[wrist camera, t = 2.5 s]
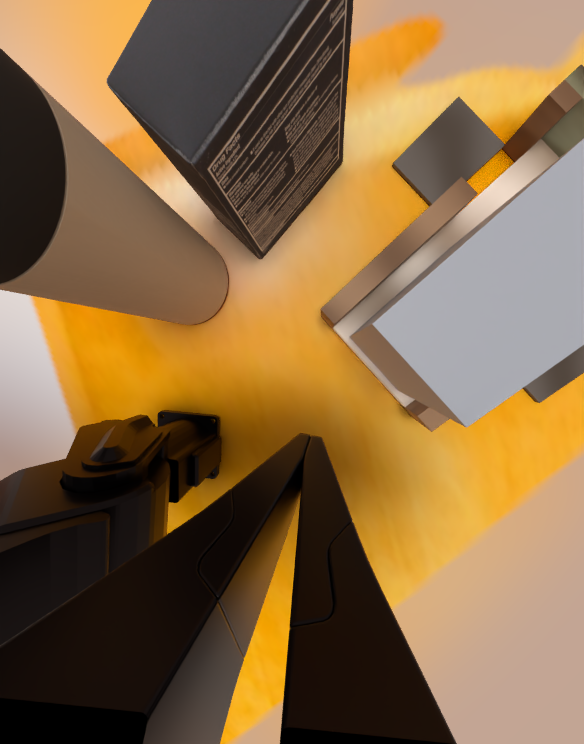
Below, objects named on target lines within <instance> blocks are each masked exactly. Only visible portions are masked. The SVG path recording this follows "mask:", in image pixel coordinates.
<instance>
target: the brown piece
mask: <svg viewBox="0 0 584 744" xmlns="http://www.w3.org/2000/svg"><path fill="white" fill-rule="evenodd" d="M583 138H584V67H583V66H582V65H580V66H579V67H578V68H577V69H576V70H575V71H573V72H572V73H571V74H570V75H569V76H568V77H567V78H566V79H565V80H564V81H563V82H562V83H561V84H560V85H559V86H558V87H556V88H555V89H554V90H553V91H552V92H551V93H550V94H549V95H548V96H547V97H546V98H545V100H544V101H543V102H542V103H541V104H540V105H539V106H538V108H537V109H536V110H535V111H534V112H533V113H532V114H531V116H530V117H529V118H528V119H527V120H526V121H525V122H524V124H523V125H522V126H521V127H520V128H519V129H518V130H517V132H516V133H515V134H514V135H513V136H512V137H511V138H510V140H509V141H508V142H507V143H506V144H504V143H503V142H502V141H501V140H500V139H499V138H498V137H497V136H496V135H495V134H494V133H493V132H492V131H491V130H490V129H489V128H488V126H487V125H486V124H485V123H484V122H483V121H482V120H481V119H480V118H479V117H478V116H477V115H476V114H475V113H474V112H473V111H472V110H471V109H470V108H469V107H468V106H467V105H466V104H465V103H464V102H463V101H462V99H461V98H460V97H458V98H457V99H456V100H455V101H454V102H453V103H452V104H451V105H450V106H449V107H448V108H447V109H446V110H445V111H444V112H443V113H442V114H441V115H440V116H439V117H438V118H437V119H436V120H435V121H434V122H433V123H432V124H431V125H430V126H429V127H428V128H427V129H426V130H425V131H424V132H423V133H422V134H421V135H420V136H419V137H418V138H417V139H416V140H415V141H414V142H413V143H412V144H411V145H410V146H409V147H408V148H407V149H406V150H405V152H404V153H403V154H402V155H401V156H400V157H399V158H398V159H397V160H396V161H395V162H394V163H393V165H392V166H393V168H394V169H395V170H396V171H397V172H398V173H399V174H400V175H401V176H402V177H403V178H404V179H405V180H406V181H407V182H408V183H409V185H410V186H411V187H412V188H413V189H414V190H415V191H416V192H417V193H418V194H419V195H420V196H421V197H422V198H423V199H424V200H425V202H426V203H427V204H428V205H429V206H430V207H429V208H428V209H427V210H426V211H424V212H423V213H422V214H421V215H420V216H419V217H418V218H417V219H416V220H415V221H414V222H413V223H412V224H411V225H410V226H409V227H407V228H406V229H405V230H404V231H403V232H402V233H401V234H400V235H399V236H398V237H397V238H396V239H395V240H394V241H393V242H391V243H390V244H389V245H388V246H387V247H386V248H385V249H384V250H383V251H382V252H381V253H380V254H379V255H378V256H377V257H376V258H374V259H373V260H372V261H371V262H370V263H369V264H368V265H367V266H366V267H365V268H364V269H363V270H362V271H361V272H360V273H359V274H357V275H356V276H355V277H354V278H353V279H352V280H351V281H350V282H349V283H348V284H347V285H346V286H345V287H344V288H343V289H341V290H340V291H339V292H338V293H337V294H336V295H335V296H334V297H333V298H332V299H331V300H330V301H329V302H328V303H327V304H326V305H324V306H323V307H322V308H321V317H322V318H323V319H324V320H325V321H326V322H327V323H328V324H329V326H330V327H331V328H332V329H333V330H334V331H335V332H336V333H337V334H338V336H339V337H340V338H341V339H342V340H343V341H344V342H345V343H346V344H347V345H348V347H349V348H350V349H351V350H352V351H353V352H354V353H355V354H356V355H357V357H358V358H359V359H360V360H361V361H362V362H363V363H364V364H365V365H366V366H367V368H368V369H369V370H370V371H371V372H372V373H373V374H374V375H375V376H376V378H377V379H378V380H379V381H380V382H381V383H382V384H383V385H384V386H385V387H386V389H387V390H388V391H389V392H390V393H391V394H392V395H393V396H394V397H395V398H396V400H397V401H398V402H399V403H400V404H401V405H402V406H403V407H404V408H405V410H406V411H407V412H408V413H409V414H410V415H411V416H412V417H413V418H414V419H415V420H417V421H418V422H419V423H421V424H422V425H423V426H425V427H426V428H427V429H429V430H430V431H431V432H432V431H433V430H435V429H436V428H438V427H439V426H440V425H442V424H443V423H444V422H446V421H447V420H449V419H450V418H448V417H446V416H444V415H442V414H441V413H439V412H437V411H435V410H433V409H431V408H429V407H428V406H426V405H424V404H422V403H420V402H418V401H416V400H415V399H413V398H411V397H409V396H407V395H405V394H403V393H402V392H400V391H398V390H397V389H396V388H395V387H394V386H393V385H392V384H391V383H390V381H389V380H388V379H387V378H386V377H385V376H384V375H383V374H382V373H381V372H380V370H379V369H378V368H377V367H376V366H375V365H374V364H373V363H372V362H371V361H370V359H369V358H368V357H367V356H366V355H365V354H364V353H363V352H362V351H361V349H360V348H359V347H358V346H357V345H356V344H355V343H354V342H353V341H352V340H351V338H350V336H351V335H352V334H353V333H354V332H355V331H357V330H358V329H359V328H360V327H361V326H362V325H363V324H364V323H366V322H367V321H368V320H369V319H370V318H371V317H372V316H374V315H375V314H376V313H377V312H378V311H379V310H380V309H381V308H383V307H384V306H385V305H386V304H387V303H388V302H389V301H390V300H392V299H393V298H394V297H395V296H396V295H397V294H398V293H400V292H401V291H402V290H403V289H404V288H405V287H406V286H407V285H409V284H410V283H411V282H412V281H413V280H414V279H415V278H416V277H418V276H419V275H420V274H421V273H422V272H423V271H424V270H426V269H427V268H428V267H429V266H430V265H431V264H432V263H433V262H435V261H436V260H437V259H438V258H439V257H440V256H441V255H443V254H444V253H445V252H446V251H447V250H448V249H449V248H450V247H452V246H453V245H454V244H455V243H456V242H458V241H459V240H460V239H461V238H463V237H464V236H465V235H466V234H467V233H469V232H470V231H471V230H472V229H474V228H475V227H476V226H477V225H478V224H480V223H481V222H482V221H483V220H485V219H486V218H487V217H488V216H489V215H491V214H492V213H493V212H494V211H495V210H497V209H498V208H499V207H500V206H502V205H503V204H504V203H505V202H506V201H508V200H509V199H510V198H511V197H513V196H514V195H515V194H516V193H517V192H519V191H520V190H521V189H522V188H523V187H525V186H526V185H527V184H528V183H530V182H531V181H532V180H533V179H534V178H536V177H537V176H538V175H539V174H541V173H542V172H543V171H544V170H545V169H547V168H548V167H549V166H550V165H552V164H553V163H554V162H555V161H556V160H558V159H559V158H560V157H561V156H562V155H564V154H565V153H566V152H567V151H569V150H570V149H571V148H572V147H573V146H575V145H576V144H577V143H578V142H580V141H581V140H582V139H583ZM501 149H503V150H504V151H505V152H506V153H507V154H508V155H509V156H510V157H511V158H512V160H513V161H514V162H515V163H514V164H513V165H512V166H510V167H509V168H508V169H507V170H506V171H505V172H504V173H503V174H502V175H501V176H499V177H498V178H497V179H496V180H495V181H494V182H493V183H492V184H491V185H490V186H488V187H487V188H486V189H485V190H484V191H483V192H482V193H481V194H480V195H479V196H477V197H476V198H475V199H474V200H473V201H472V202H471V203H470V204H469V205H468V206H466V205H467V204H468V203H469V202H470V201H471V200H472V199H473V198H474V197H475V196H476V195H477V194H478V193H477V192H476V191H475V190H474V189H473V188H472V187H471V186H470V185H469V184H468V183H467V182H466V181H467V180H468V179H469V178H471V177H472V176H473V175H474V174H475V173H476V172H477V171H478V170H479V169H480V168H481V167H482V166H483V165H484V164H486V163H487V162H488V161H489V160H490V159H491V158H492V157H493V156H494V155H495V154H496V153H497V152H498V151H500V150H501ZM465 206H466V207H465ZM464 207H465V208H464ZM463 208H464V209H463ZM462 209H463V210H462ZM461 210H462V211H461ZM460 211H461V212H460ZM459 212H460V213H459ZM458 213H459V214H458ZM457 214H458V215H457ZM583 373H584V345H583V346H581V347H580V348H579V349H577V350H576V351H574V352H573V353H571V354H570V355H569V356H567V357H566V358H564V359H563V360H562V361H560V362H559V363H557V364H556V365H554V366H553V367H552V368H550V369H549V370H547V371H546V372H545V373H543V374H542V375H540V376H539V377H538V378H536V379H535V380H533V381H532V382H530V383H529V384H528V385H526V386H525V387H523V389H524V390H525V391H526V392H527V393H528V394H529V395H530V396H531V397H532V398H533V399H534V400H535V402H538V403H540V402H542V401H543V400H545V399H546V398H547V397H549V396H550V395H552V394H553V393H555V392H556V391H558V390H559V389H561V388H562V387H564V386H565V385H566V384H568V383H569V382H571V381H572V380H574V379H575V378H577V377H578V376H580V375H581V374H583Z"/></svg>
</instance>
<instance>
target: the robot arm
mask: <svg viewBox="0 0 584 744" xmlns="http://www.w3.org/2000/svg"><path fill="white" fill-rule="evenodd" d="M163 414H164V417H163ZM212 419H214V420H215V422H213V420H212ZM219 423H220V420H219V417H218V416H216V415H209V414H198V413H188V412H177V411H166V410H164V411H161V412H159V413H158V427H155V424H153V423H152V421H151V420H150V419H149V417H148V416H146V415H137V416H134V417H131V418H129V419H126V420H105V421H102V422H101V423H96V424H91V425H86V426H82V427H80V428H79V430H78V433H77V435H76V437H75V439H74V442H73V444H72V446H71V449H70V451H69V453H68V455H67V458H66V459H63V460H59V461H54V462H50V463H46V464H42V465H38V466H34V467H30V468H26V469H22V470H19V471H17V472H15V473H13V474H11V475H10V476H8V477H6V478H4V479H3V480H1V481H0V744H220V741H221V737H222V733H223V729H224V726H225V722H226V718H227V714H228V711H229V707H230V703H231V700H232V696H233V692H234V689H235V686H236V683H237V679H238V676H239V673H240V670H241V667H242V664H243V661H244V657H245V655H246V652H247V649H248V646H249V644H250V641H251V638H252V635H253V632H254V629H255V626H256V623H257V620H258V617H259V614H260V611H261V609H262V606H263V603H264V600H265V597H266V594H267V591H268V588H269V585H270V582H271V579H272V576H273V574H274V571H275V568H276V565H277V562H278V559H279V556H280V553H281V550H282V547H283V544H284V541H285V539H286V536H287V533H288V530H289V527H290V524H291V521H292V518H293V515H294V512H295V509H296V507H297V504H298V501H299V498H300V509H299V521H298V533H297V545H296V557H295V569H294V581H293V593H292V605H291V617H290V631H289V640H288V652H287V664H286V676H285V688H284V700H283V712H282V724H281V737H280V744H457V743H456V741H455V739H454V737H453V735H452V733H451V731H450V729H449V727H448V725H447V723H446V721H445V719H444V717H443V715H442V713H441V711H440V709H439V707H438V705H437V702H436V700H435V698H434V696H433V694H432V692H431V690H430V688H429V686H428V684H427V682H426V680H425V678H424V676H423V673H422V671H421V669H420V667H419V665H418V663H417V661H416V659H415V657H414V655H413V653H412V651H411V649H410V647H409V645H408V643H407V641H406V639H405V636H404V634H403V632H402V630H401V628H400V626H399V624H398V622H397V620H396V618H395V616H394V614H393V612H392V610H391V608H390V606H389V603H388V601H387V599H386V597H385V595H384V593H383V591H382V589H381V587H380V585H379V583H378V580H377V578H376V576H375V574H374V572H373V569H372V567H371V565H370V563H369V561H368V558H367V556H366V553H365V551H364V548H363V546H362V543H361V541H360V538H359V536H358V533H357V530H356V528H355V525H354V523H353V522H352V518H351V515H350V512H349V510H348V507H347V504H346V501H345V499H344V496H343V493H342V491H341V488H340V485H339V482H338V480H337V477H336V474H335V472H334V469H333V466H332V463H331V461H330V458H329V455H328V453H327V450H326V447H325V444H324V442H323V439H322V438H321V437H318V436H313V435H312V436H310V435H308V434H303V433H300V434H298V435H297V436H296V437H295V438H293V439H292V440H291V441H290V442H288V443H287V444H286V445H285V446H283V447H282V448H281V449H280V450H279V451H277V452H276V453H275V454H274V455H272V456H271V457H270V458H269V459H267V460H266V461H265V462H264V463H262V464H261V465H260V466H259V467H257V468H256V469H255V470H254V471H252V472H251V473H250V474H249V475H248V476H246V477H245V478H244V479H243V480H241V481H240V482H239V483H238V484H236V485H235V486H234V487H233V488H232V490H231V489H230V490H228V491H227V492H226V493H225V494H223V495H222V496H221V497H220V498H218V499H217V500H216V501H214V502H213V503H212V504H210V505H209V506H208V507H207V508H205V509H204V510H203V511H201V512H200V513H198V514H197V515H195V516H194V517H192V518H191V519H190V520H188V521H187V522H185V523H184V524H182V525H181V526H179V527H178V528H176V529H175V530H173V531H172V532H170V533H169V534H167V521H168V504H169V502H173V503H177V502H178V501H179V500H180V499H181V498H182V497H183V496H184V495H185V494H186V493H187V492H188V491H189V490H190V489H191V488H192V487H197V486H198V485H199V484H200V483H201V482H202V481H203V480H204V479H205V478H210V479H215V478H216V477H217V476H218V474H219V463H220V462H221V438H220V437H219ZM212 472H214V474H213V473H212ZM300 494H301V497H300Z"/></svg>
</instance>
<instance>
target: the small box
mask: <svg viewBox="0 0 584 744" xmlns="http://www.w3.org/2000/svg"><path fill="white" fill-rule="evenodd" d="M352 14H353V0H152V1H151V2H150V4H149V6H148V8H147V10H146V12H145V13H144V15H143V17H142V19H141V20H140V22H139V24H138V26H137V27H136V29H135V31H134V33H133V34H132V36H131V38H130V40H129V42H128V43H127V45H126V47H125V49H124V50H123V52H122V54H121V56H120V57H119V59H118V61H117V63H116V65H115V66H114V68H113V70H112V71H111V73H110V75H109V76H108V78H107V84H108V86H109V88H110V89H111V90H112V91H113V93H114V94H115V95H116V96H117V97H118V99H119V100H120V101H121V102H122V104H123V105H124V106H125V107H126V108H127V109H128V110H129V112H130V113H131V114H132V115H133V116H134V117H135V119H136V120H137V121H138V122H139V124H140V125H141V126H142V127H143V128H144V130H145V131H146V132H147V133H148V135H149V136H150V137H151V138H152V139H153V141H154V142H155V143H156V144H157V146H158V147H159V148H160V149H161V150H162V152H163V153H164V154H165V155H166V156H167V158H168V159H169V160H170V161H171V162H172V164H173V165H174V166H175V167H176V169H177V170H178V171H179V172H180V173H181V175H182V176H183V177H184V178H185V179H186V181H187V182H188V183H189V184H190V185H191V187H192V188H193V189H194V190H195V191H196V193H197V194H198V195H199V196H200V198H201V199H202V200H203V201H204V202H205V204H206V205H207V206H208V207H209V208H210V210H211V211H212V212H213V214H214V215H215V216H216V217H217V218H218V219H219V220H220V221H221V222H222V223H223V224H224V225H225V226H226V227H227V228H228V229H229V230H230V231H231V232H232V233H233V234H234V235H235V236H236V237H237V238H238V239H239V240H240V241H241V242H242V243H243V244H244V245H245V246H246V247H247V248H248V249H249V250H250V251H251V252H252V253H254V254H255V255H256V256H257V257H258V258H259V259H262V258H263V257H264V255H265V254H266V253H267V252H268V251H269V249H270V248H271V247H272V246H273V245H274V244H275V242H276V241H277V240H278V239H279V238H280V236H281V235H282V234H283V233H284V232H285V230H286V229H287V228H288V227H289V226H290V224H291V223H292V222H293V221H294V220H295V218H296V217H297V216H298V215H299V214H300V212H301V211H302V210H303V209H304V208H305V206H306V205H307V204H308V203H309V202H310V200H311V199H312V198H313V197H314V196H315V194H316V193H317V192H318V191H319V190H320V188H321V187H322V186H323V185H324V184H325V182H326V181H327V180H328V179H329V177H330V176H331V175H332V174H333V173H334V171H335V170H336V169H337V168H338V166H339V165H340V164H341V163H342V162H343V138H344V122H345V109H346V95H347V81H348V68H349V54H350V43H351V25H352Z"/></svg>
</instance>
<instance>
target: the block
mask: <svg viewBox="0 0 584 744" xmlns="http://www.w3.org/2000/svg"><path fill="white" fill-rule="evenodd" d="M350 338H351V340H352V341H353V342H354V343H355V344H356V345H357V346H358V347H359V348H360V349H361V351H362V352H363V353H364V354H365V355H366V356H367V357H368V358H369V359H370V361H371V362H372V363H373V364H374V365H375V366H376V367H377V368H378V369H379V370H380V372H381V373H382V374H383V375H384V376H385V377H386V378H387V379H388V380H389V381H390V383H391V384H392V385H393V386H394V387H395V388H396V389H397V390H398V391H400V392H402V393H403V394H405V395H407V396H409V397H411V398H413V399H415V400H416V401H418V402H420V403H422V404H424V405H426V406H428V407H429V408H431V409H433V410H435V411H437V412H439V413H441V414H442V415H444V416H446V417H448V418H450V419H452V420H454V421H455V422H457V423H459V424H461V425H463V426H465V427H468V426H470V425H471V424H472V423H474V422H475V421H477V420H478V419H480V418H481V417H482V416H484V415H485V414H487V413H488V412H489V411H491V410H492V409H494V408H495V407H497V406H498V405H499V404H501V403H502V402H504V401H505V400H506V399H508V398H509V397H511V396H512V395H513V394H515V393H516V392H518V391H519V390H521V389H522V388H523V387H525V386H526V385H528V384H529V383H530V382H532V381H533V380H535V379H536V378H538V377H539V376H540V375H542V374H543V373H545V372H546V371H547V370H549V369H550V368H552V367H553V366H554V365H556V364H557V363H559V362H560V361H562V360H563V359H564V358H566V357H567V356H569V355H570V354H571V353H573V352H574V351H576V350H577V349H579V348H580V347H581V346H583V345H584V138H583V139H582V140H581V141H580V142H578V143H577V144H576V145H575V146H573V147H572V148H571V149H570V150H569V151H567V152H566V153H565V154H564V155H562V156H561V157H560V158H559V159H558V160H556V161H555V162H554V163H553V164H552V165H550V166H549V167H548V168H547V169H545V170H544V171H543V172H542V173H541V174H539V175H538V176H537V177H536V178H534V179H533V180H532V181H531V182H530V183H528V184H527V185H526V186H525V187H523V188H522V189H521V190H520V191H519V192H517V193H516V194H515V195H514V196H513V197H511V198H510V199H509V200H508V201H506V202H505V203H504V204H503V205H502V206H500V207H499V208H498V209H497V210H495V211H494V212H493V213H492V214H491V215H489V216H488V217H487V218H486V219H485V220H483V221H482V222H481V223H480V224H478V225H477V226H476V227H475V228H474V229H472V230H471V231H470V232H469V233H467V234H466V235H465V236H464V237H463V238H461V239H460V240H459V241H458V242H456V243H455V244H454V245H453V246H452V247H450V248H449V249H448V250H447V251H446V252H445V253H444V254H443V255H441V256H440V257H439V258H438V259H437V260H436V261H435V262H433V263H432V264H431V265H430V266H429V267H428V268H427V269H426V270H424V271H423V272H422V273H421V274H420V275H419V276H418V277H416V278H415V279H414V280H413V281H412V282H411V283H410V284H409V285H407V286H406V287H405V288H404V289H403V290H402V291H401V292H400V293H398V294H397V295H396V296H395V297H394V298H393V299H392V300H390V301H389V302H388V303H387V304H386V305H385V306H384V307H383V308H381V309H380V310H379V311H378V312H377V313H376V314H375V315H374V316H372V317H371V318H370V319H369V320H368V321H367V322H366V323H364V324H363V325H362V326H361V327H360V328H359V329H358V330H357V331H355V332H354V333H353V334H352V335H351V336H350Z"/></svg>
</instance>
